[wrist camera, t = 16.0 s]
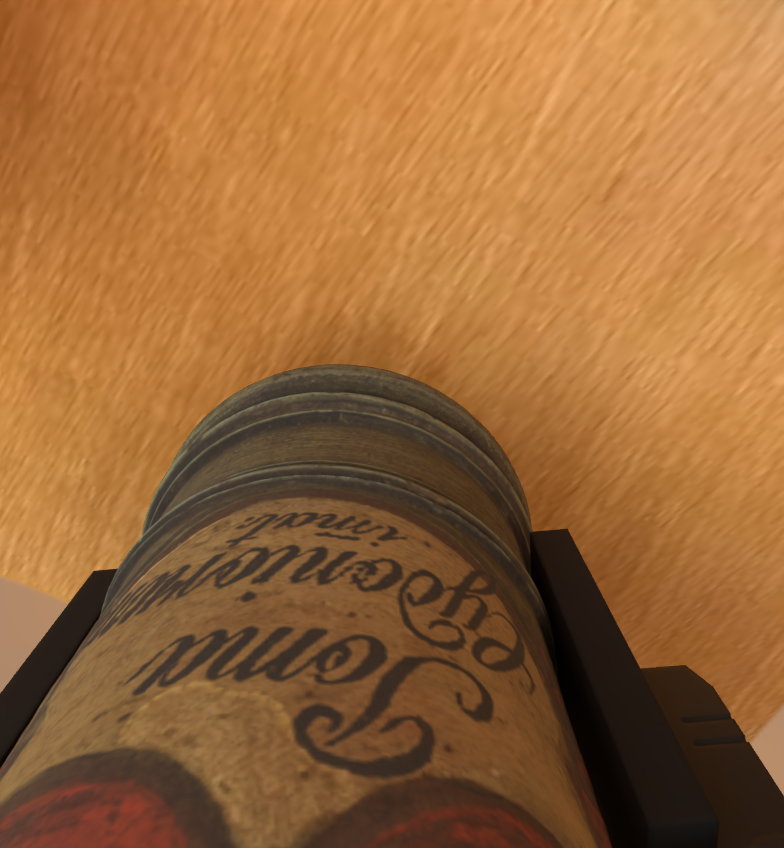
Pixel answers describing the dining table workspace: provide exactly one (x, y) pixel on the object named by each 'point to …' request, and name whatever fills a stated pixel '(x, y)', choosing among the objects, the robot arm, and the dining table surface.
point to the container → (315, 646)
